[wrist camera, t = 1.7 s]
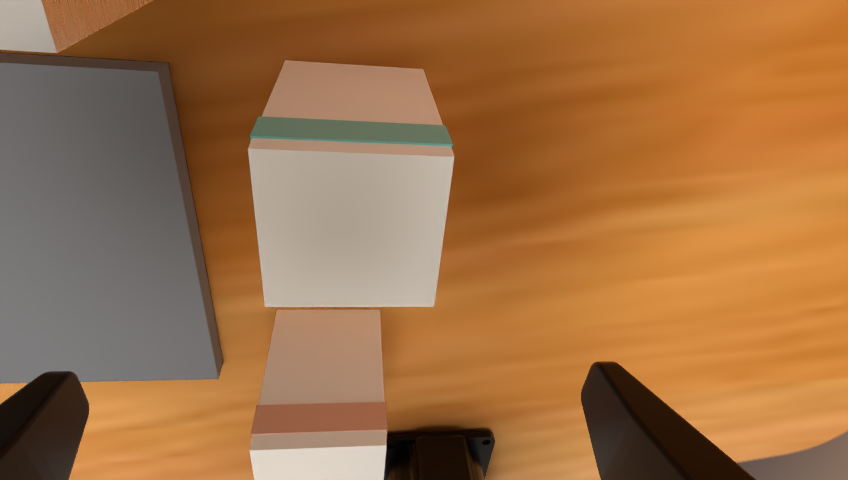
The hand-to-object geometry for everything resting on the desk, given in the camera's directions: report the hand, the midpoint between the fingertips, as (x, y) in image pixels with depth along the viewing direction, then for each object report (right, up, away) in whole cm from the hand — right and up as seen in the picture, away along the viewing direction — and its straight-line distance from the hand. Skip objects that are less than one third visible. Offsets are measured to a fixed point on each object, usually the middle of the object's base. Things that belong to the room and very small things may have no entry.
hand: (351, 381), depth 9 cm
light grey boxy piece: (-3, -3, +15) cm, 16 cm away
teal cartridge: (-1, +7, +9) cm, 12 cm away
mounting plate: (-13, +3, +11) cm, 17 cm away
